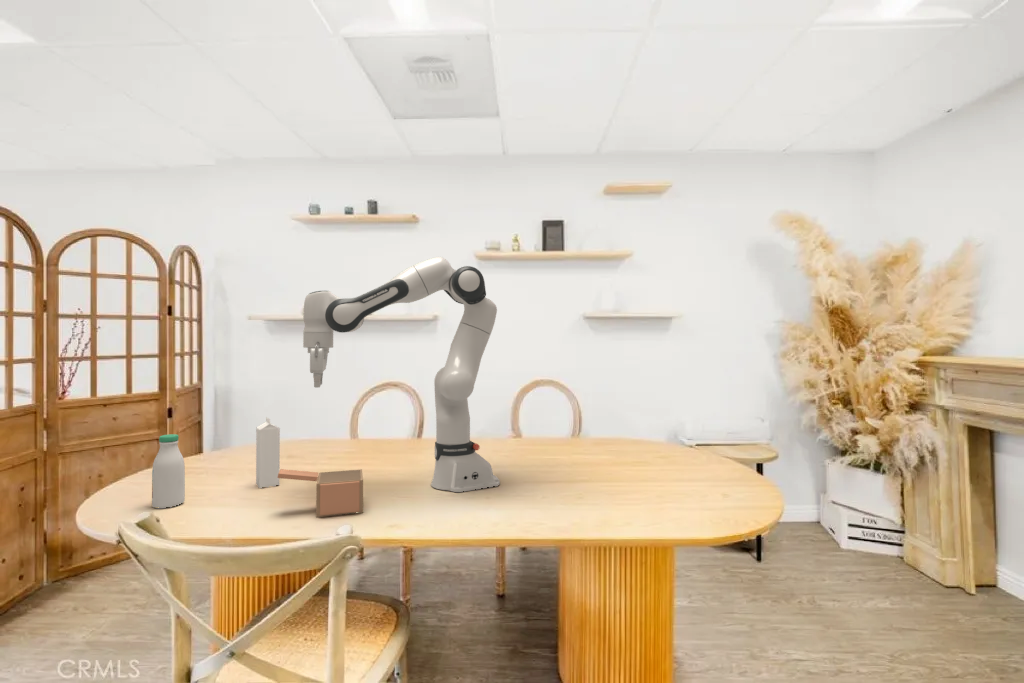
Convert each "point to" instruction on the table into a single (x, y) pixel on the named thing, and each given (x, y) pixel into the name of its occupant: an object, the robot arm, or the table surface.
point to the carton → (339, 493)
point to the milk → (267, 454)
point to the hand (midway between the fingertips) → (318, 386)
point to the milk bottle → (168, 474)
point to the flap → (298, 475)
